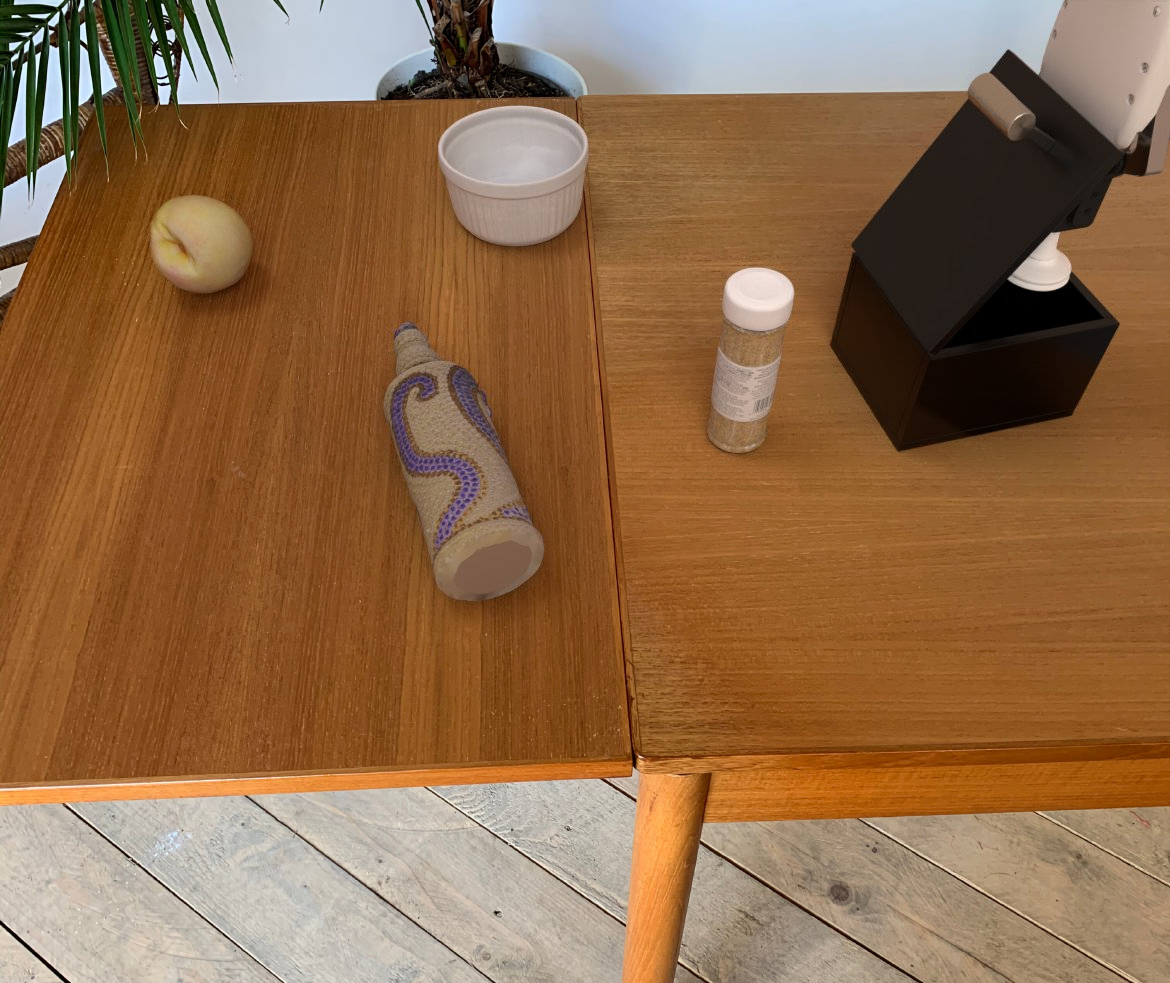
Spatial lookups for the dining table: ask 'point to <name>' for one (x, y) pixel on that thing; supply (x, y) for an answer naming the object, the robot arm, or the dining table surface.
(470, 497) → the decorative bottle
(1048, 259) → the chess piece
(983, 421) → the bin
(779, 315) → the spice jar
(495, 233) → the ramekin
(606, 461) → the dining table surface
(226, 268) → the fruit
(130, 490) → the dining table surface
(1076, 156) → the bin lid
